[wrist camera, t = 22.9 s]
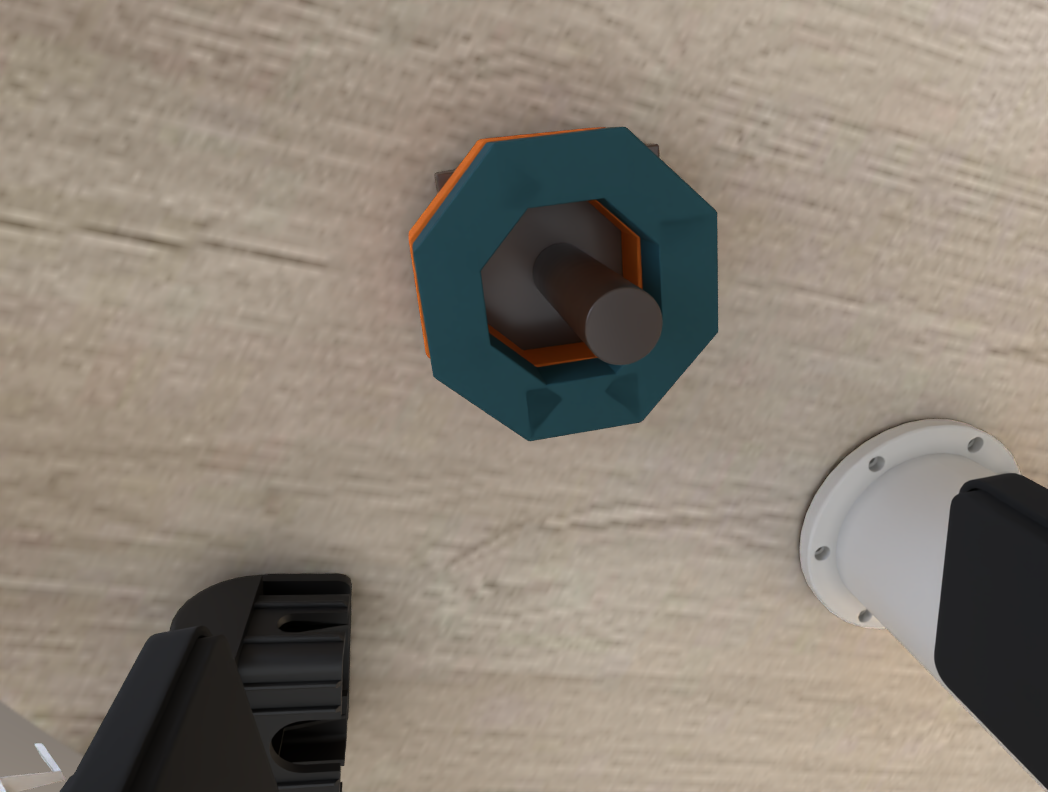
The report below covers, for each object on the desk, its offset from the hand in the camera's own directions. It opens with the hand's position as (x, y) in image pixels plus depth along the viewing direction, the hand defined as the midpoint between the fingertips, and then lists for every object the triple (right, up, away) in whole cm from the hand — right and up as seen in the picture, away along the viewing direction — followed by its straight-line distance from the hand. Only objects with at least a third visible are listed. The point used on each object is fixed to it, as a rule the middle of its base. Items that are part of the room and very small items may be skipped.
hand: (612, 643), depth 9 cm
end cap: (-13, -9, +26) cm, 31 cm away
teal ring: (0, +8, +18) cm, 19 cm away
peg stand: (0, +9, +22) cm, 23 cm away
